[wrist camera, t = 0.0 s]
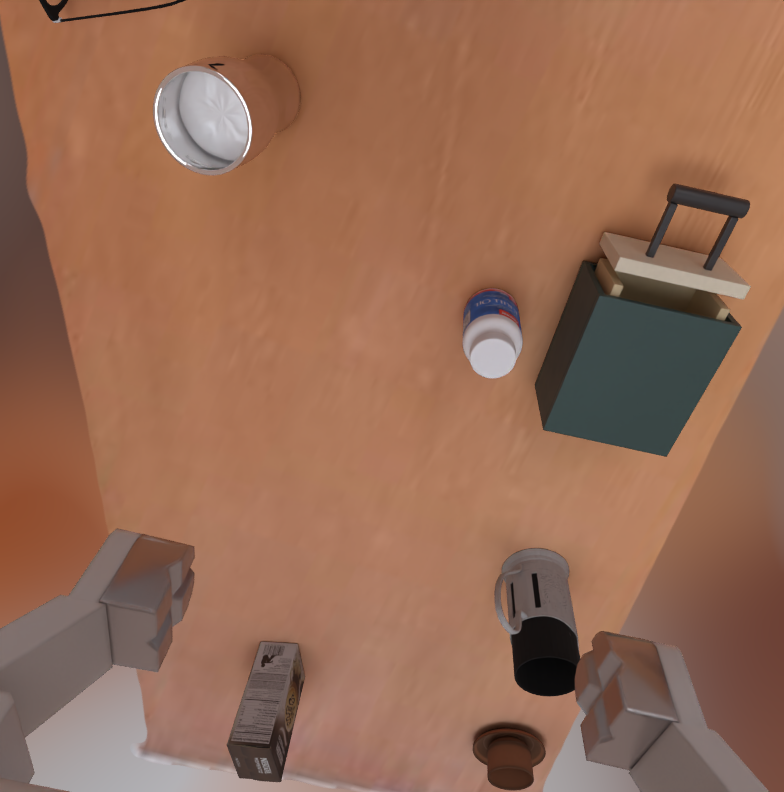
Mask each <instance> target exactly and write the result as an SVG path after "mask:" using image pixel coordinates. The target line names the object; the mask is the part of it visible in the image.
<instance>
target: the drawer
mask: <svg viewBox="0 0 784 792" xmlns="http://www.w3.org/2000/svg"><path fill="white" fill-rule="evenodd" d="M667 201H668V204H667V207H666V209H665V211H664V213H663V216H662V218H661V220H660V222H659V224H658V227H657V229H656V231H655V233H654V236H653V238H652V240H651V242H647V241H643V240H639V239H634V238H630V237H625V236H621V235H617V234H612V233H608V232H604V233H603V236H602V238H601V241H600V243H599V244H600V246H601V248H602V250H603V251H604V253H605V255H606V257H607V258H608V259H604V258H600V259H599V262H598V264H597V267H596V269H595V272H594V273H595V275H596V277H597V279H598V281H599V283H600V285H601V287H602V289H603V291H604V293H605V294H607V295H611V296H616V297H620V298H625V299H629V300H634V301H638V302H642V303H647V304H651V305H656V306H660V307H665V308H669V309H674V310H678V311H683V312H687V313H692V314H696V315H701V316H705V317H710V318H714V319H719V320H723V321H725V319H726V317H727V315H728V313H729V312H730V309H729V308H728V307H727V306H726V305H725V303H724V302H723V301H722V300H721V299H720V298H719V297H718V296H717V294H721V295H726V296H730V297H734V298H739V299H744V298H745V296H746V294H747V293H748V291H749V289H750V287H751V286H750V285H749V284H748V283H747V282H746V281H745V280H744V279H743V278H741V277H740V276H739V275H738V274H737V273H736V272H735V271H734V270H733V269H732V268H731V267H730V266H729V265H728V264H727V263H726V262H725V261H724V260H723V259H722V258H719V256H720V254H721V252H722V250H723V248H724V246H725V244H726V242H727V240H728V238H729V236H730V234H731V233H732V231H733V229H734V227H735V225H736V223H737V221H738V218H743V217H744V216H745V215H746V214H747V212H748V210H749V208H750V202H749V201H748V200H745V199H740V198H736V197H732V196H727V195H723V194H718V193H714V192H710V191H705V190H701V189H697V188H692V187H688V186H683V185H679V184H673V185H672V186H671V188H670V189H669V192H668V195H667ZM677 204H680V205H684V206H689V207H693V208H697V209H702V210H706V211H711V212H715V213H719V214H724V215H728V218H727V220H726V222H725V224H724V226H723V228H722V230H721V232H720V234H719V236H718V238H717V240H716V242H715V244H714V246H713V248H712V250H711V252H710V254H709V255H705V254H701V253H696V252H692V251H687V250H683V249H678V248H674V247H670V246H665V245H661V244H660V243H661V241H662V238H663V236H664V234H665V232H666V230H667V227H668V225H669V223H670V221H671V219H672V217H673V214H674V212H675V210H676V208H677V206H678V205H677ZM716 293H717V294H716Z"/></svg>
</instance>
